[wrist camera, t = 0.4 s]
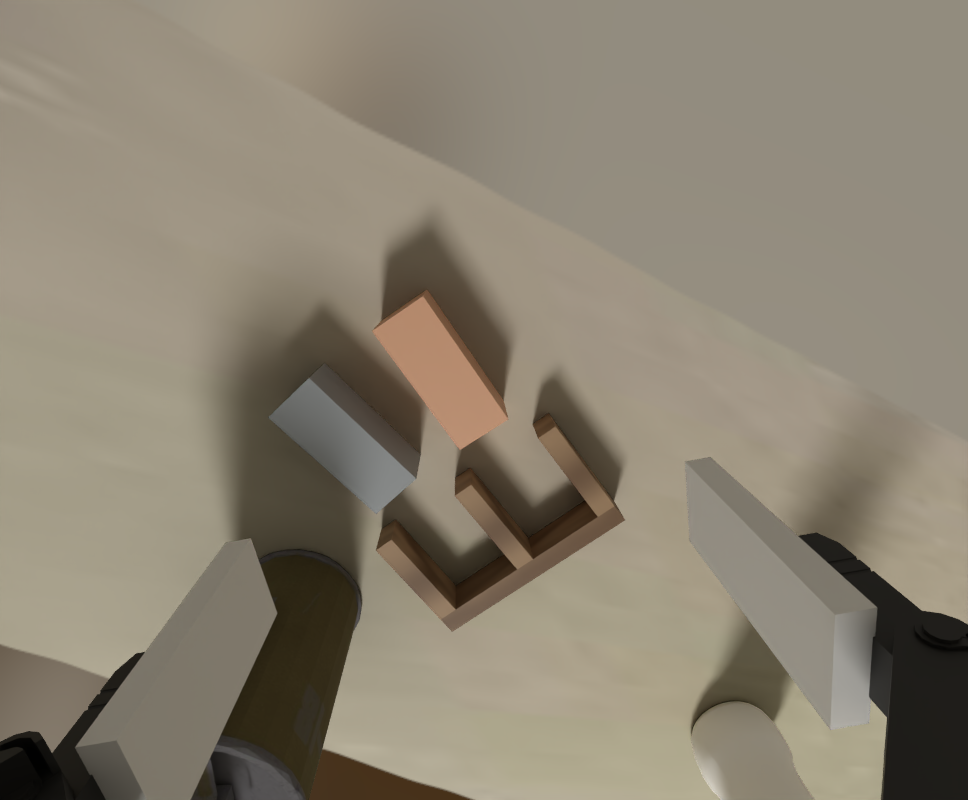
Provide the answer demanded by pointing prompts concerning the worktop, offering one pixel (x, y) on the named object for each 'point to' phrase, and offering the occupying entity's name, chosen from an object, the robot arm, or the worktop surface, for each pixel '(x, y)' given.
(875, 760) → the worktop surface
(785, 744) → the bottle
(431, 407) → the terracotta bar
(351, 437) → the slate bar
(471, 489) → the comb rack
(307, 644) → the canister
